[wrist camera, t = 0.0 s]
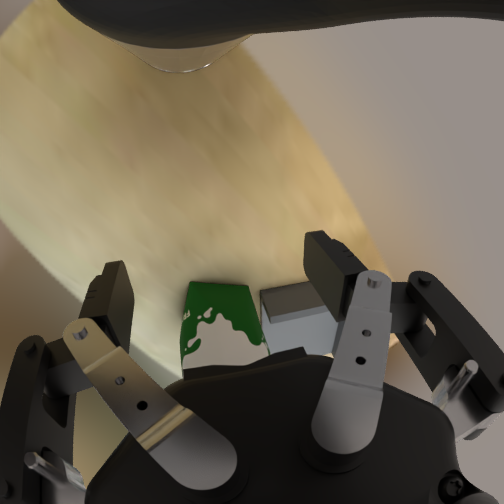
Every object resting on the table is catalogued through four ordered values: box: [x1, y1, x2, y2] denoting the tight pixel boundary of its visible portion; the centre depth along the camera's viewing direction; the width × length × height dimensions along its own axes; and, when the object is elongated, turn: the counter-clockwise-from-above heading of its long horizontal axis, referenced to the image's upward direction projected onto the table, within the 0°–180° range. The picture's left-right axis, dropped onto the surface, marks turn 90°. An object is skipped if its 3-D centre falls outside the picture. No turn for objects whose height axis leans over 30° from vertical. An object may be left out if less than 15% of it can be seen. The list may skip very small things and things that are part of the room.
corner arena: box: [260, 281, 345, 357], centre depth 40 cm, size 16×13×5 cm
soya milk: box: [180, 282, 271, 377], centre depth 28 cm, size 9×9×20 cm
